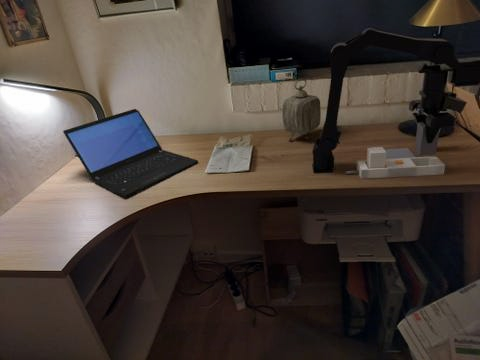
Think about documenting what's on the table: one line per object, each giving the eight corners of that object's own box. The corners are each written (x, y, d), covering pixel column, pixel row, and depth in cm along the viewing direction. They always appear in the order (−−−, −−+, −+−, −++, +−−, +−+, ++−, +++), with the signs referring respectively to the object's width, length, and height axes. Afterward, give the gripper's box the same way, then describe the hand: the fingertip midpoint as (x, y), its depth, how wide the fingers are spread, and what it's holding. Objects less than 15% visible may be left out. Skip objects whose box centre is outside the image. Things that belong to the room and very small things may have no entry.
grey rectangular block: (419, 155, 100) (423, 126, 96) (414, 149, 104) (417, 122, 100) (435, 154, 99) (440, 125, 95) (429, 148, 103) (434, 120, 99)
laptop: (125, 201, 111) (108, 147, 102) (78, 176, 135) (61, 130, 126) (199, 163, 131) (190, 116, 122) (147, 147, 155) (137, 107, 147)
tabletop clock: (305, 131, 148) (303, 74, 136) (322, 135, 141) (321, 75, 130) (284, 142, 140) (280, 81, 128) (301, 146, 133) (298, 83, 122)
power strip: (347, 179, 105) (348, 169, 103) (344, 169, 111) (344, 159, 109) (443, 174, 100) (445, 163, 99) (434, 164, 106) (436, 154, 105)
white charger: (369, 176, 105) (370, 153, 101) (366, 170, 109) (367, 147, 105) (384, 175, 104) (386, 152, 101) (380, 169, 108) (382, 146, 104)
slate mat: (385, 162, 112) (385, 161, 112) (378, 151, 121) (378, 149, 120) (417, 160, 110) (417, 159, 110) (407, 149, 119) (407, 148, 119)
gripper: (483, 93, 83) (471, 150, 90) (450, 78, 99) (442, 128, 106) (435, 97, 85) (427, 153, 92) (411, 82, 101) (405, 130, 108)
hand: (426, 140), depth 100 cm, fingers closed on grey rectangular block, 4 cm apart
